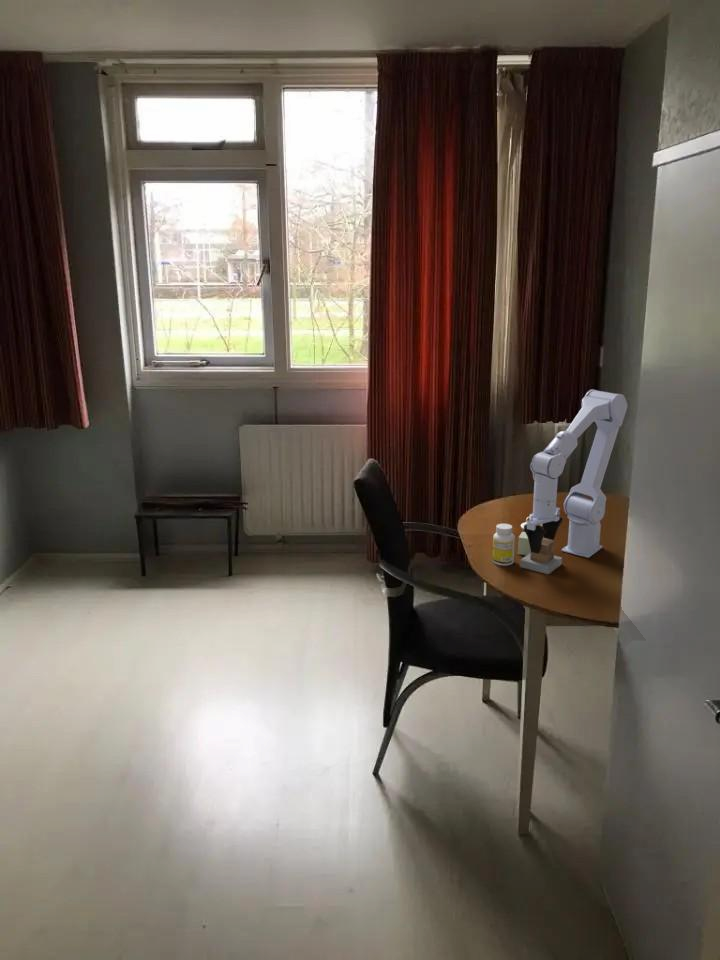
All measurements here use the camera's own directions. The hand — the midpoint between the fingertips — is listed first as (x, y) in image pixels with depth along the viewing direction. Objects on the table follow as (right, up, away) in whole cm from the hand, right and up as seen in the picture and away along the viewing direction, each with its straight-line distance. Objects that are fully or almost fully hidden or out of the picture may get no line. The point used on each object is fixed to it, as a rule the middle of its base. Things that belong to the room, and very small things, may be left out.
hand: (541, 547), depth 201 cm
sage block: (-2, -2, +10) cm, 11 cm away
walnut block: (0, -3, +1) cm, 3 cm away
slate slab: (0, -5, +2) cm, 6 cm away
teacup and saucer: (+7, +3, +27) cm, 28 cm away
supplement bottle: (-9, -4, +4) cm, 11 cm away
